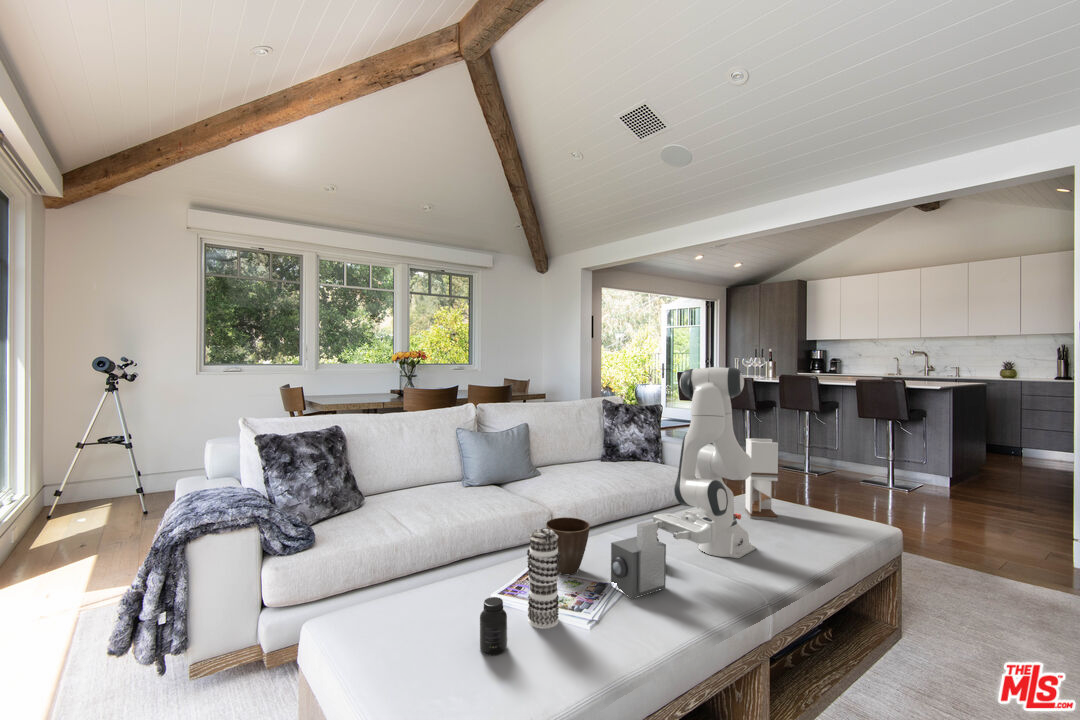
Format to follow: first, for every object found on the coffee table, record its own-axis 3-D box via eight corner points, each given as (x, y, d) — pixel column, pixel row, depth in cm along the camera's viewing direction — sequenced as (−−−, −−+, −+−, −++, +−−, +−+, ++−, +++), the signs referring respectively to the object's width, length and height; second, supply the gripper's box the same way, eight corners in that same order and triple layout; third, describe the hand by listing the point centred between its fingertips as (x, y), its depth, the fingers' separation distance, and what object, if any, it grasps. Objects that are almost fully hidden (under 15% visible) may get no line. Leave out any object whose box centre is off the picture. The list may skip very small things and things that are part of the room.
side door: (660, 583, 164) (660, 518, 164) (665, 585, 162) (666, 521, 162) (636, 590, 158) (637, 524, 158) (641, 593, 156) (642, 526, 156)
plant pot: (595, 566, 181) (595, 521, 181) (580, 583, 168) (580, 534, 167) (556, 559, 187) (556, 515, 187) (538, 575, 174) (538, 527, 174)
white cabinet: (750, 518, 236) (751, 442, 235) (745, 511, 246) (746, 438, 246) (777, 520, 234) (778, 442, 234) (770, 513, 244) (771, 439, 244)
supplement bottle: (480, 641, 133) (480, 595, 133) (506, 640, 134) (507, 594, 134) (479, 657, 126) (479, 608, 126) (507, 655, 127) (507, 607, 127)
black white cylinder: (549, 633, 137) (549, 539, 137) (520, 623, 142) (520, 532, 142) (565, 618, 145) (566, 529, 145) (537, 609, 150) (538, 523, 150)
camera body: (643, 576, 173) (643, 534, 173) (665, 588, 164) (666, 544, 164) (605, 587, 165) (606, 543, 164) (627, 600, 156) (627, 554, 156)
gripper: (670, 506, 178) (640, 512, 171) (719, 523, 161) (688, 530, 154) (670, 525, 178) (640, 531, 171) (719, 543, 161) (688, 552, 154)
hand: (663, 531), depth 162 cm, fingers open, 8 cm apart
